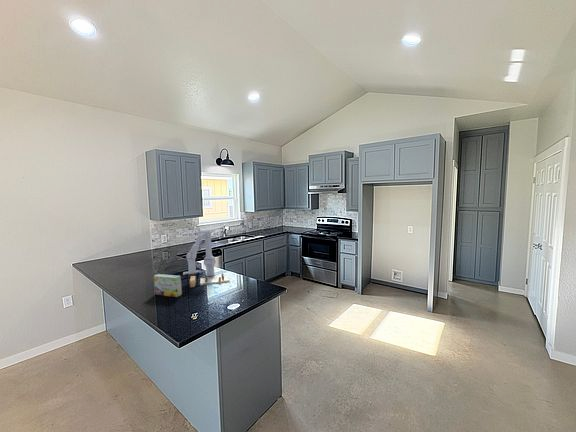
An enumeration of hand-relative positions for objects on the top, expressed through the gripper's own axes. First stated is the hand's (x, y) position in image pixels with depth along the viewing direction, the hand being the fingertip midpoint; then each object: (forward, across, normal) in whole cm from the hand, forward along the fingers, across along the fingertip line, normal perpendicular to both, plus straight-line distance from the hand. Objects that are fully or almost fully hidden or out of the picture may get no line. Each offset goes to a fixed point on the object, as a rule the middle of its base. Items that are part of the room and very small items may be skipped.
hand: (192, 282), depth 224 cm
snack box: (+2, -17, -20) cm, 26 cm away
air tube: (+2, 0, 0) cm, 2 cm away
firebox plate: (+1, +18, 0) cm, 18 cm away
